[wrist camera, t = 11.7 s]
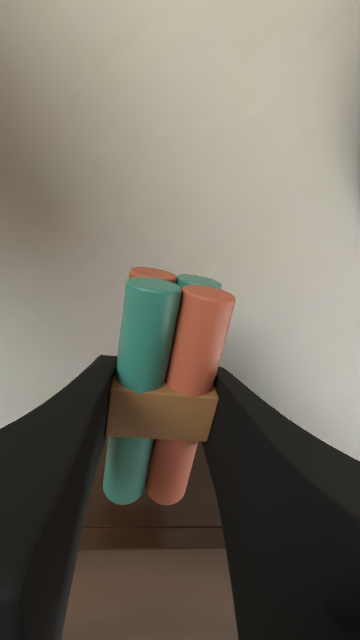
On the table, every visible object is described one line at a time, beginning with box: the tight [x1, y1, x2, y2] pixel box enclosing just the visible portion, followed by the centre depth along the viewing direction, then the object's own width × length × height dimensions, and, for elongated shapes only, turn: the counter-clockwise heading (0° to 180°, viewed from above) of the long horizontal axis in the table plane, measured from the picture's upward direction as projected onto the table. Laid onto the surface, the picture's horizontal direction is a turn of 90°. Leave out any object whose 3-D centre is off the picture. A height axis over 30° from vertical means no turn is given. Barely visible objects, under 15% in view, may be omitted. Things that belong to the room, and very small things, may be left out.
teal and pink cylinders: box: [103, 267, 235, 505], centre depth 10 cm, size 8×3×3 cm, turn 169°
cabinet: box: [61, 436, 238, 640], centre depth 17 cm, size 14×14×8 cm
